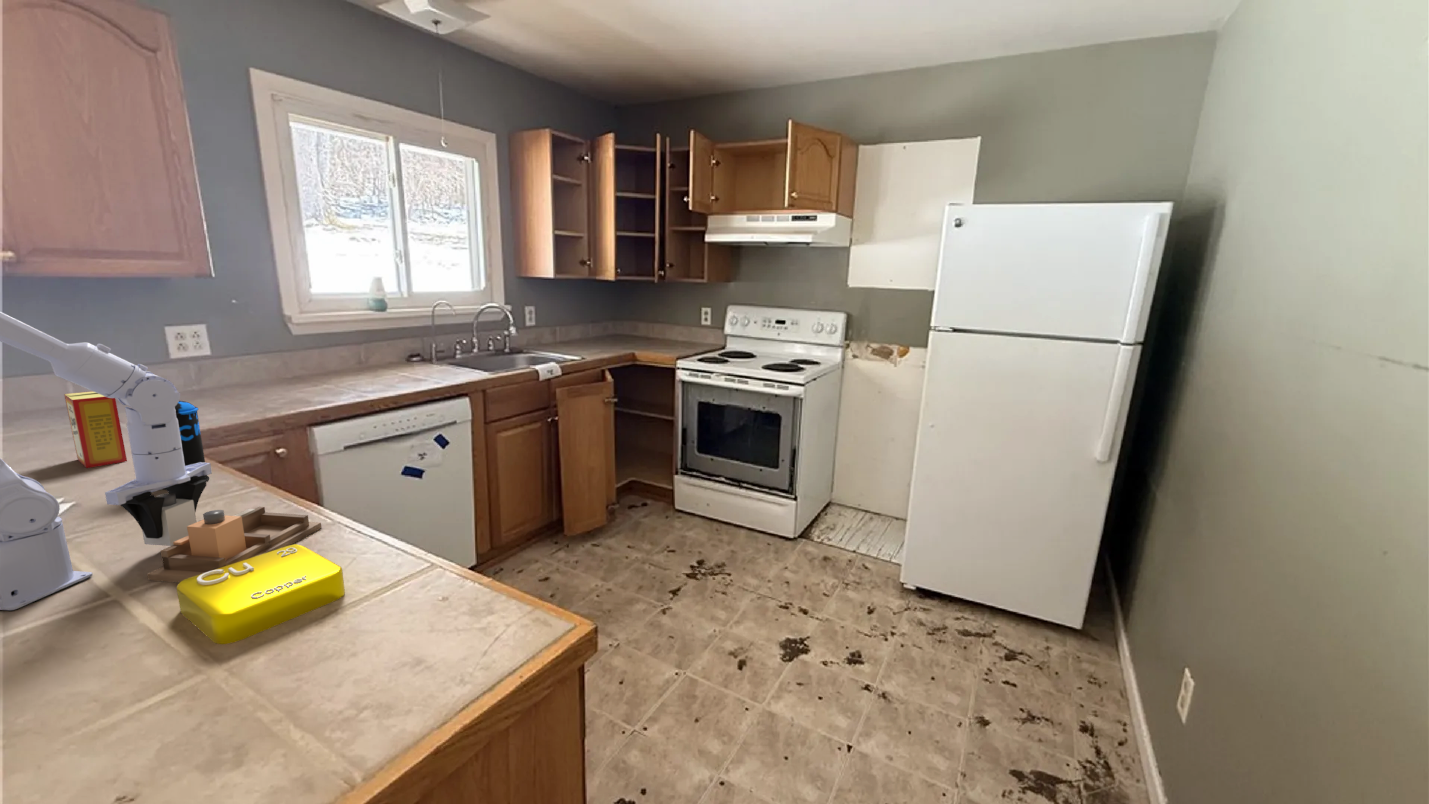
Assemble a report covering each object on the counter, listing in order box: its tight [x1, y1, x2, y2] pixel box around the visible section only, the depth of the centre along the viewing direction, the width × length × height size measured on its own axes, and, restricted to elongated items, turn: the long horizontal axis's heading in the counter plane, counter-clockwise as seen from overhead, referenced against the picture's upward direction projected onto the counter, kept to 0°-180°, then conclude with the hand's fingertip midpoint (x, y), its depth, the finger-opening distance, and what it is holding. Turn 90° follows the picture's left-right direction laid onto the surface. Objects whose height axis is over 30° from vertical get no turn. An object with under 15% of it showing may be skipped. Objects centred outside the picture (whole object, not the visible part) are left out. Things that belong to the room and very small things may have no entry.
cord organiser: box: [146, 506, 322, 583], centre depth 93 cm, size 20×11×4 cm, turn 176°
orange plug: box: [187, 509, 246, 561], centre depth 88 cm, size 4×4×7 cm
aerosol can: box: [162, 400, 210, 490], centre depth 119 cm, size 8×8×20 cm
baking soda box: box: [63, 390, 128, 469], centre depth 131 cm, size 10×6×16 cm
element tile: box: [176, 543, 346, 645], centre depth 79 cm, size 15×15×5 cm
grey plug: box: [141, 492, 198, 547], centre depth 92 cm, size 4×4×7 cm
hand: (170, 530), depth 92 cm, fingers closed on grey plug, 4 cm apart
